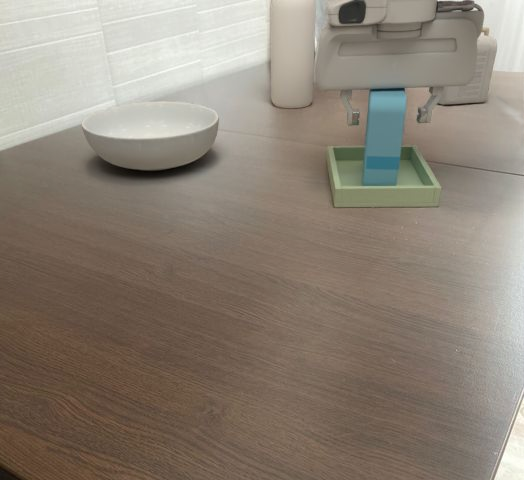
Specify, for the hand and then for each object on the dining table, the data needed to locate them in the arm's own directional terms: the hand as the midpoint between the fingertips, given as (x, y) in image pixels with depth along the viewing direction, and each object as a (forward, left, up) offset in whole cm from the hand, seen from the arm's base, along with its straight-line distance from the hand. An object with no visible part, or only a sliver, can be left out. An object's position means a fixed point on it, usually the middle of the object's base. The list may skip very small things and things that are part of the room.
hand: (387, 123), depth 75 cm
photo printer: (-22, -45, -9) cm, 51 cm away
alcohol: (+13, -46, -9) cm, 49 cm away
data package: (+1, 0, -8) cm, 8 cm away
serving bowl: (+35, -10, -9) cm, 37 cm away
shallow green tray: (+1, 0, -8) cm, 8 cm away
